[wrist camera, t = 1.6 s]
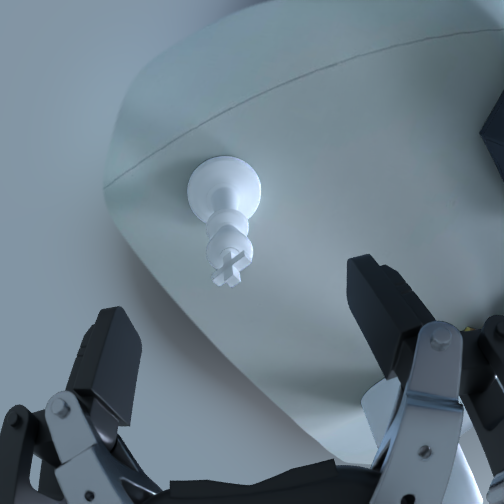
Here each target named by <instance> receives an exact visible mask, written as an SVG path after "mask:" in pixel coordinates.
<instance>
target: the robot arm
mask: <svg viewBox="0 0 504 504" xmlns="http://www.w3.org/2000/svg"><path fill="white" fill-rule="evenodd" d="M347 301H348V305H349V308H350V310H351V312H352V314H353V316H354V318H355V319H356V321H357V323H358V325H359V327H360V329H361V331H362V333H363V335H364V337H365V338H366V340H367V342H368V344H369V346H370V348H371V350H372V352H373V354H374V356H375V358H376V360H377V362H378V364H379V366H380V368H381V370H382V372H383V374H384V376H385V378H386V380H390V379H393V378H395V377H398V379H399V381H400V383H401V384H400V387H399V390H398V394H397V397H396V401H395V404H394V407H393V410H392V414H391V417H390V420H389V423H388V426H387V429H386V432H385V434H384V437H383V439H382V442H381V444H380V446H379V448H378V451H377V453H376V455H375V458H374V460H373V463H372V465H371V467H370V469H368V468H364V467H359V466H351V465H335V461H334V459H330V460H327V461H323V462H319V463H315V464H311V465H306V466H302V467H298V468H293V469H290V470H289V471H286V472H284V473H282V474H279V475H277V476H274V477H272V478H270V479H267V480H264V481H262V482H259V483H256V484H253V485H240V484H232V483H224V482H217V481H211V480H193V481H170V489H168V490H165V491H162V490H161V489H160V487H159V486H158V485H157V484H155V483H154V482H153V481H152V480H151V479H150V478H149V477H148V476H147V475H146V474H145V473H144V472H143V470H142V469H141V467H140V466H139V464H138V463H137V461H136V460H135V459H134V457H133V455H132V454H131V452H130V451H129V449H128V448H127V446H126V445H125V443H124V442H123V440H122V438H121V437H120V436H119V435H118V434H117V429H118V426H130V421H131V414H132V407H133V400H134V393H135V387H136V381H137V375H138V369H139V364H140V358H141V353H142V344H141V339H140V337H139V335H138V333H137V331H136V330H135V328H134V326H133V325H132V323H131V321H130V319H129V318H128V316H127V314H126V313H125V311H124V309H123V308H122V307H119V306H117V307H112V308H106V309H102V310H101V311H100V312H99V314H98V317H97V320H96V322H95V324H94V325H92V326H91V327H90V329H89V330H88V331H87V332H86V334H85V335H84V338H83V340H82V343H81V346H80V347H81V348H80V349H79V351H78V354H77V358H76V360H75V362H74V365H73V368H72V371H71V374H70V377H69V380H68V383H67V386H66V390H65V391H61V392H58V393H56V394H55V395H54V396H53V397H51V399H50V400H49V401H48V403H47V405H46V408H45V409H44V410H41V411H37V412H34V413H31V412H30V411H29V410H28V409H27V408H26V407H24V406H23V405H15V406H14V407H12V408H11V409H10V410H9V411H8V413H7V414H6V416H5V419H4V422H3V426H2V429H1V433H0V504H442V501H443V498H444V495H445V492H446V489H447V486H448V483H449V479H450V476H451V472H452V468H453V464H454V460H455V456H456V452H457V448H458V443H459V438H460V433H461V427H462V421H463V414H464V408H463V405H462V404H459V403H458V396H460V398H461V400H462V402H463V404H464V406H465V408H466V410H467V413H468V415H469V417H470V419H471V421H472V424H473V426H474V428H475V430H476V432H477V435H478V437H479V440H480V442H481V444H482V447H483V449H484V452H485V454H486V457H487V460H488V462H489V465H490V468H491V471H492V473H493V476H494V479H493V480H492V482H491V485H490V487H489V491H488V493H487V496H486V498H487V501H488V502H489V504H504V392H503V390H502V388H501V387H500V385H499V383H498V381H497V379H496V377H497V378H498V379H499V381H500V383H501V385H502V386H503V388H504V316H503V315H493V316H491V317H489V318H488V319H487V320H486V321H485V323H484V326H483V328H482V329H478V330H470V331H459V330H458V329H457V328H456V327H455V326H453V325H452V324H450V323H447V322H444V321H436V320H435V318H434V317H433V316H432V314H431V313H430V312H429V310H428V309H427V308H426V306H425V305H424V304H423V303H422V301H421V300H420V299H419V297H418V296H417V295H416V294H415V292H414V291H412V289H411V287H410V286H409V285H408V284H407V283H406V282H405V280H404V279H403V278H402V276H401V275H400V274H399V273H398V272H397V271H396V270H394V269H392V268H391V267H389V266H387V265H382V266H379V265H378V263H377V262H376V261H375V260H374V258H373V257H372V256H371V255H370V254H366V255H361V256H357V257H353V258H349V259H348V261H347ZM33 454H34V455H36V456H37V457H39V458H41V459H42V464H41V472H40V479H39V488H38V491H36V490H35V489H33V488H32V486H31V484H30V480H29V476H30V469H31V463H32V457H33Z"/></svg>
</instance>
